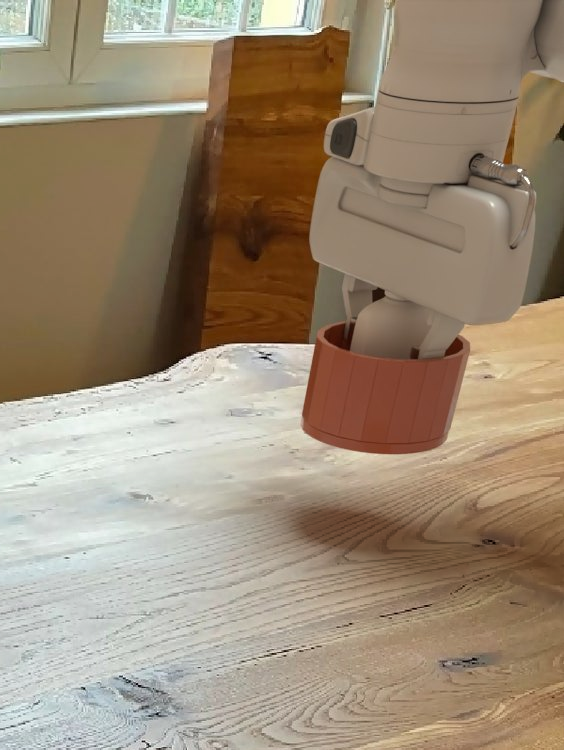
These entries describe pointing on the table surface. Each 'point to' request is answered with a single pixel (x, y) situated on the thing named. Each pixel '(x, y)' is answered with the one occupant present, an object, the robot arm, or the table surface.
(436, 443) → the cup
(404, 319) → the eye dropper bottle
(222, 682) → the table surface
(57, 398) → the table surface
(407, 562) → the table surface
